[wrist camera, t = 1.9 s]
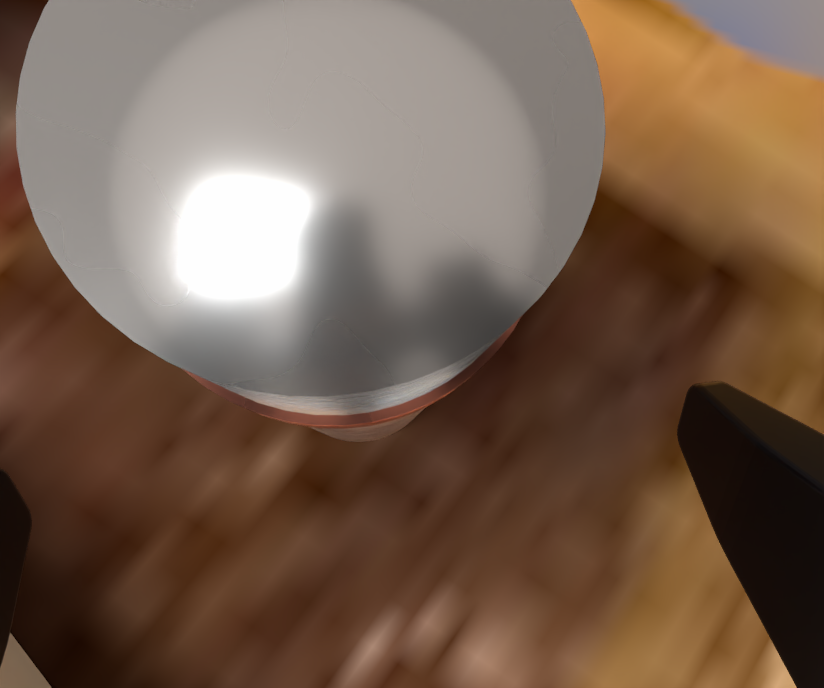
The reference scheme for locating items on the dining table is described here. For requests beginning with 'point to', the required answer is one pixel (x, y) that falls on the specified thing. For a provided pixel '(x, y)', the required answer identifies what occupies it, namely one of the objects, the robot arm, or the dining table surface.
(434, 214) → the tube
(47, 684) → the collar
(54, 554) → the dining table surface
